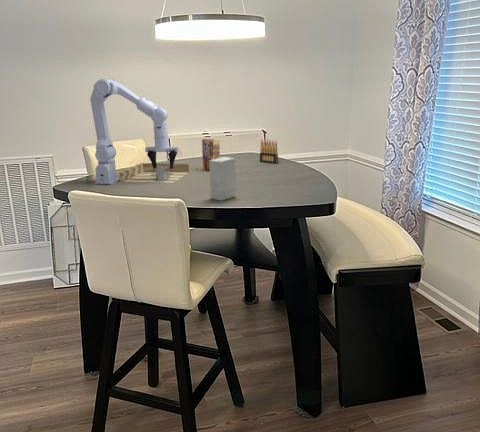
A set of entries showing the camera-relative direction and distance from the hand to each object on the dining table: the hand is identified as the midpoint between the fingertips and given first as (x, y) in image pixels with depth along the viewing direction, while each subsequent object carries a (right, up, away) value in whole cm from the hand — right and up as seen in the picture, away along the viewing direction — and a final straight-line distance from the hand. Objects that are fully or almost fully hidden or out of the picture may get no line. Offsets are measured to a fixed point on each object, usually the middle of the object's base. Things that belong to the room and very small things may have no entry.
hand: (163, 168), depth 221 cm
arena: (-5, -4, +9) cm, 11 cm away
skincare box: (+27, -14, -30) cm, 43 cm away
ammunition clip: (+48, +7, +42) cm, 64 cm away
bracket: (-1, -5, +2) cm, 5 cm away
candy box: (+20, +1, +23) cm, 30 cm away
